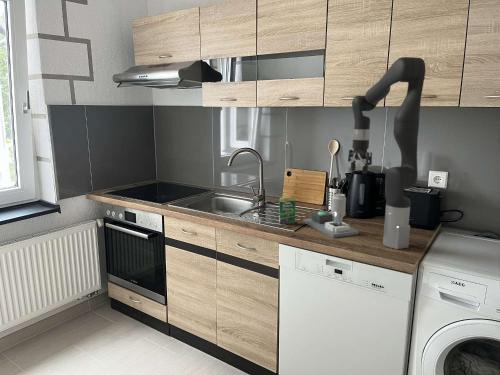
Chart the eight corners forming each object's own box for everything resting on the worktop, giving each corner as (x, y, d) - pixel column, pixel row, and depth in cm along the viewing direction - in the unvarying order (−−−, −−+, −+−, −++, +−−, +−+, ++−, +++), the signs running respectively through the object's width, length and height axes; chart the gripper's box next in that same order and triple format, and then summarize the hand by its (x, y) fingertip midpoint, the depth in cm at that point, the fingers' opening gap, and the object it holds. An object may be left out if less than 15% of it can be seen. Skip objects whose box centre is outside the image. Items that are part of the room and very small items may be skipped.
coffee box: (278, 224, 182) (279, 198, 179) (278, 222, 185) (278, 197, 182) (295, 224, 182) (295, 198, 179) (294, 222, 185) (295, 197, 182)
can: (335, 218, 192) (336, 196, 190) (328, 214, 199) (329, 193, 197) (347, 217, 194) (349, 195, 192) (340, 213, 201) (341, 192, 199)
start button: (328, 219, 181) (328, 213, 180) (320, 220, 179) (320, 214, 179) (323, 217, 185) (323, 211, 184) (315, 217, 183) (316, 212, 183)
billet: (343, 229, 169) (344, 212, 168) (336, 230, 168) (337, 213, 166) (338, 226, 173) (339, 210, 171) (331, 227, 172) (332, 211, 170)
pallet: (358, 234, 167) (359, 222, 166) (333, 237, 162) (333, 226, 161) (326, 219, 191) (327, 209, 190) (303, 222, 186) (303, 211, 185)
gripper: (377, 139, 169) (375, 174, 172) (357, 137, 182) (355, 169, 185) (365, 140, 166) (362, 175, 169) (345, 137, 179) (343, 170, 182)
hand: (358, 172), depth 177 cm, fingers open, 8 cm apart
